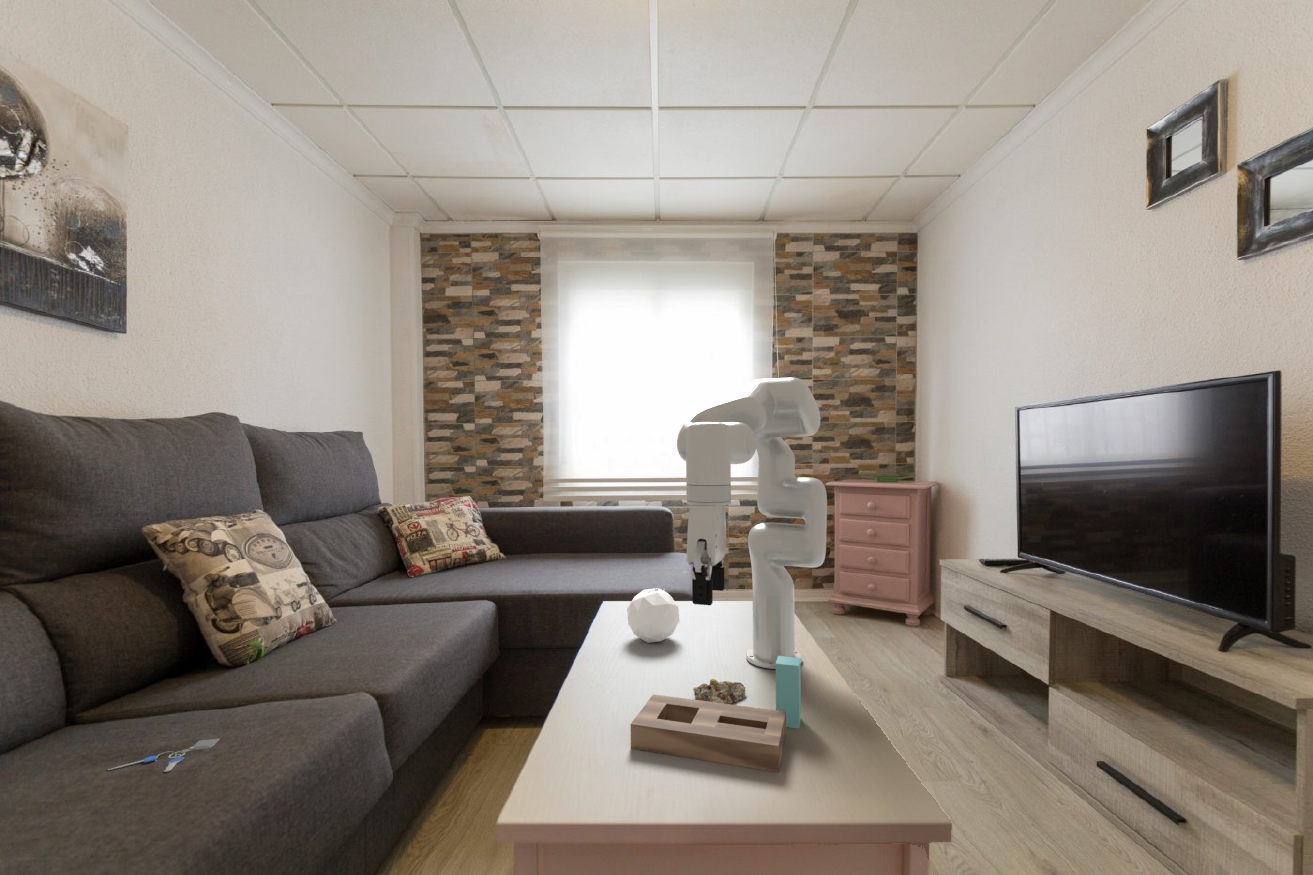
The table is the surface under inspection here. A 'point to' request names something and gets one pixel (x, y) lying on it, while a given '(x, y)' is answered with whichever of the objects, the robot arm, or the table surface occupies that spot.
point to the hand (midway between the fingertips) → (709, 596)
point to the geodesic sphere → (653, 615)
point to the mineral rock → (720, 692)
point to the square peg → (789, 689)
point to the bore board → (711, 732)
